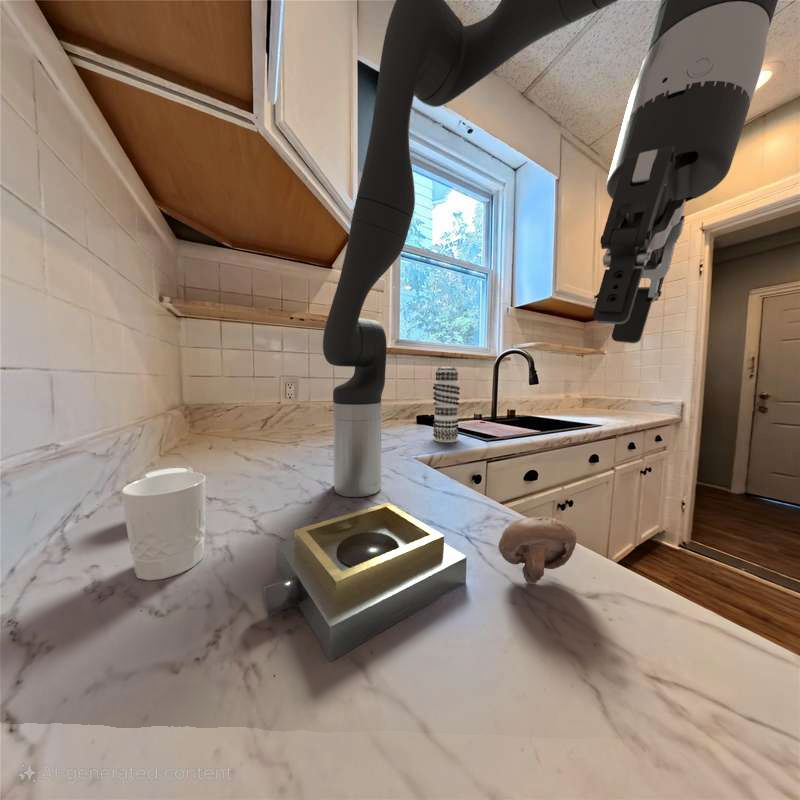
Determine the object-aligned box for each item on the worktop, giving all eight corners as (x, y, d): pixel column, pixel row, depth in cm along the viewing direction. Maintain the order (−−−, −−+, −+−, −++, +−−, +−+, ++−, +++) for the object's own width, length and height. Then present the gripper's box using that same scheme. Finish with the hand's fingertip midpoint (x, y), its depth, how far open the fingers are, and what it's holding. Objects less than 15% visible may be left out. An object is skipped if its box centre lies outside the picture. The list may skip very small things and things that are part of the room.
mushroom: (492, 587, 34) (495, 516, 33) (504, 558, 39) (506, 496, 38) (572, 615, 30) (577, 535, 29) (573, 578, 35) (577, 510, 34)
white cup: (164, 544, 42) (160, 471, 41) (222, 545, 41) (219, 472, 41) (108, 584, 34) (101, 494, 33) (179, 586, 34) (173, 496, 33)
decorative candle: (426, 439, 108) (427, 366, 105) (441, 435, 115) (442, 367, 112) (449, 443, 102) (451, 366, 100) (463, 439, 109) (465, 367, 107)
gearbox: (245, 568, 37) (244, 527, 36) (381, 522, 48) (381, 491, 48) (292, 684, 23) (290, 621, 23) (465, 582, 34) (467, 539, 34)
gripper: (631, 183, 32) (586, 342, 34) (606, 66, 21) (543, 310, 23) (737, 163, 27) (676, 352, 29) (774, -2, 16) (674, 316, 18)
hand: (617, 333), depth 26 cm, fingers open, 8 cm apart
